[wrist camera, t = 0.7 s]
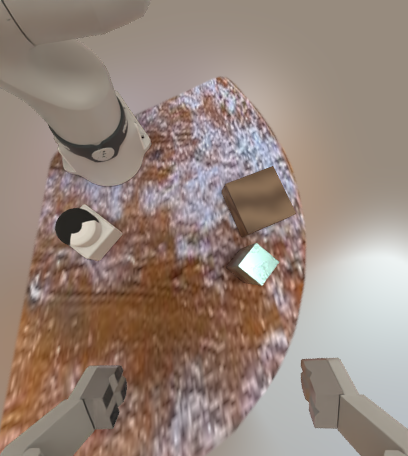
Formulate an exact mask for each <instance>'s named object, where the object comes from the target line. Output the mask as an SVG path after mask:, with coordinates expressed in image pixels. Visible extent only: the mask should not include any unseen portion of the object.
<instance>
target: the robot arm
mask: <svg viewBox="0 0 408 456" xmlns="http://www.w3.org/2000/svg"><path fill="white" fill-rule="evenodd" d="M150 1H151V0H0V88H1V89H3V90H5V91H7V92H9V93H11V94H13V95H15V96H16V97H18V98H20V99H21V100H23V101H24V102H26V103H27V104H28V105H29V106H31V107H32V108H33V109H34V110H35V111H36V112H37V113H38V114H39V115H40V116H41V117H42V118H43V119H44V120H45V121H46V122H47V123H48V125H49V128H50V130H51V131H52V133H53V135H54V140H55V142H56V143H57V144H58V148H57V149H58V151H59V153H60V154H61V155H62V161H63V167H64V169H65V170H66V171H67V172H68V173H71V174H75V175H80V176H82V177H83V178H85V179H86V180H88V181H90V182H92V183H94V184H97V185H101V186H115V185H119V184H122V183H124V182H126V181H128V180H130V179H131V178H132V177H133V176H134V175H135V174H136V173H137V172H138V170H139V169H140V167H141V164H142V161H143V157H144V154H145V153H146V151H147V150H148V149H149V148H150V146H151V140H150V138H149V137H148V135H147V134H146V132H145V131H144V129H143V128H142V126H141V125H140V123H139V122H138V121H137V119H136V118H135V116H134V115H133V113H132V112H131V110H130V109H129V107H128V106H127V105H126V103H125V102H124V100H123V99H122V97H121V96H120V95H119V93H118V92H117V91H115V90H114V88H113V85H112V82H111V79H110V76H109V73H108V71H107V68H106V67H105V65H104V64H103V62H102V61H101V60H100V59H99V57H98V56H97V55H96V54H95V53H94V52H93V51H92V50H90V49H89V48H88V47H87V46H86V45H84V44H83V43H81V42H80V41H78V40H76V39H77V38H83V37H89V36H96V35H102V34H105V33H108V32H110V31H112V30H115V29H117V28H120V27H122V26H124V25H127V24H129V23H131V22H133V21H135V20H137V19H139V18H141V17H143V16H144V14H145V13H146V11H147V9H148V6H149V4H150ZM141 137H144V138H143V139H142V138H141ZM301 368H302V370H303V372H302V373H301V383H302V389H303V393H304V396H305V399H306V400H307V401H308V402H309V412H310V415H311V418H312V421H313V424H314V427H315V428H333V429H334V428H335V429H338V431H339V432H340V433H341V434H342V435H343V436H344V438H345V439H346V440H347V441H348V442H349V443H350V444H351V445H352V446H353V447H354V449H355V450H356V451H357V452H358V453H359V454H360V455H361V456H408V429H407V428H406V427H404V426H403V425H402V424H400V423H399V422H398V421H397V420H395V419H394V418H393V417H391V416H390V415H389V414H387V413H386V412H385V411H384V410H382V409H381V408H380V407H379V406H377V405H376V404H375V403H373V402H372V401H371V400H370V399H368V398H367V397H366V396H364V395H359V393H358V391H357V389H356V388H355V386H354V384H353V382H352V380H351V378H350V376H349V375H348V373H347V371H346V369H345V367H344V366H343V364H342V362H341V360H340V359H339V358H326V359H325V358H317V359H302V360H301ZM122 373H123V369H122V366H89V367H88V368H86V370H85V372H84V373H83V375H82V377H81V378H80V380H79V382H78V383H77V385H76V386H75V388H74V390H73V391H72V393H71V395H70V396H69V398H68V400H64V401H62V402H61V403H60V404H59V405H57V406H56V407H55V408H54V409H52V410H51V411H50V412H49V413H47V414H46V415H45V416H44V417H42V418H41V419H40V420H39V421H37V422H36V423H35V424H34V425H32V426H31V427H30V428H29V429H27V430H26V431H25V432H24V433H22V434H21V435H20V436H19V437H17V438H16V439H15V440H14V441H12V442H11V443H10V444H9V445H7V446H6V447H5V449H4V450H3V451H2V453H1V454H0V456H73V455H74V454H75V452H76V451H77V450H78V449H79V448H80V447H81V445H82V444H83V443H84V442H85V441H86V440H87V439H88V437H89V436H90V435H91V434H92V433H93V432H94V429H113V428H114V425H115V423H116V420H117V418H118V415H119V408H118V407H119V406H120V405H121V404H122V403H123V402H124V399H125V396H126V391H127V382H126V378H125V377H123V376H122Z"/></svg>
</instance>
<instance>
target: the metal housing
mask: <svg viewBox="0 0 408 456" xmlns="http://www.w3.org/2000/svg"><path fill="white" fill-rule="evenodd" d="M278 263H279V261H277V260H276V259H275V258H274V257H273V256H271V255H270V254H269V253H268V252H267V251H265V250H264V249H263V248H262V247H261V246H259V245H258V244H257V243H255V244H252V245H250V246H247V247H245V248H242V249H240V250H239V251H238V252H237V254H236V255H235V256H234V258H233V259H232V260H231V261H230V263H229V264H228V265H227V266H226V268H227V269H228V270H229V271H231V272H232V273H233V274H234V275H235V276H237V277H238V278H239V279H240V280H241V281H242V282H244V283H248V284H255V285H263V283H264V282H265V281H266V279H267V278H268V277H269V275H270V274H271V272H272V271H273V270H274V268H275V267H276V266H277V264H278Z"/></svg>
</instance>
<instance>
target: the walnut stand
mask: <svg viewBox="0 0 408 456" xmlns="http://www.w3.org/2000/svg"><path fill="white" fill-rule="evenodd" d="M222 194H223V197H224V199H225V201H226V203H227V206H228V208H229V210H230V212H231V214H232V217H233V219H234V221H235V223H236V226H237V228H238V230H239V232H240V234H241V237H244V236H247V235H249V234H251V233H254V232H256V231H258V230H261V229H263V228H265V227H268V226H270V225H272V224H275V223H277V222H279V221H282V220H284V219H286V218H288V217H290V216H292V215H294V214H296V212H295V210H294V208H293V206H292V204H291V202H290V200H289V198H288V196H287V194H286V192H285V189H284V187H283V185H282V183H281V181H280V179H279V177H278V175H277V173H276V171H275V169H274V167H273V166H272V167H269V168H266V169H264V170H261V171H259V172H256V173H253V174H251V175H248V176H245V177H243V178H240V179H237V180H235V181H232V182H230V183H227V184H225V186H224V188H223V190H222Z"/></svg>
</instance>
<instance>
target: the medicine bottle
mask: <svg viewBox="0 0 408 456" xmlns="http://www.w3.org/2000/svg"><path fill="white" fill-rule="evenodd" d="M55 230H56V235H57V236H58V238H59V239H60V240H61V241H62V242H63V243H65V244H68V245H69V246H71V247H72V248H73V249H74V250H76V251H77V252H78V253H79V254H81V255H82V256H83V257H85V258H86V259H90V260H96V261H100V260H101V259H102V258H103V257H104V255H105V254H106V253H107V252H108V251H109V250H110V249H111V247H112V246H113V245H114V244H115V243H116V242H117V240H118V239H119V238H120V237H121V236H122V232H121V231H119V230H118V229H117V228H115V227H114V226H113V225H112V224H110V223H109V222H108V221H106V220H105V219H104V218H103V217H101V216H100V215H99V214H97V213H96V212H95V211H93V210H92V209H91V208H89V207H88V206H87V205H83V206H82V207H81V208H73V209H69V210H67V211H65V212H64V213H62V214H61V215H60V217H59V218H58V220H57V222H56V226H55Z"/></svg>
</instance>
